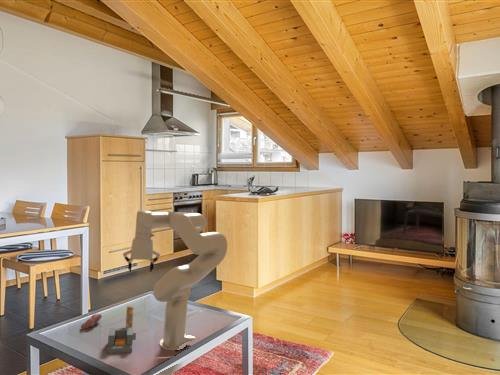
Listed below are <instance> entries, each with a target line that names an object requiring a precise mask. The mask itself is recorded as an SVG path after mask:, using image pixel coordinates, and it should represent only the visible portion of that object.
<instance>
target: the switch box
mask: <svg viewBox="0 0 500 375" xmlns="http://www.w3.org/2000/svg"><path fill="white" fill-rule="evenodd" d="M133 333H134V326H132V328H125V327H110V328H109V330H108V335H107V336H108V339H107V350H106V354H118V353H120V354H121V353H133V341H134V340H133ZM122 338H126V342H125V345H120V346H115V340H116V339H122Z"/></svg>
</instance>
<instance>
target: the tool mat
mask: <svg viewBox="0 0 500 375" xmlns="http://www.w3.org/2000/svg"><path fill="white" fill-rule="evenodd" d="M136 337H137V333H136V332H133V341H135V340H137V338H136Z"/></svg>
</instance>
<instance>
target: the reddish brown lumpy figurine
mask: <svg viewBox="0 0 500 375" xmlns="http://www.w3.org/2000/svg"><path fill="white" fill-rule="evenodd" d="M102 318H103V315H102V314H100V313H98V312H97V313H94V314H93V315H91V316H90V317H89V318H88V319H87V320H86V321H85V322H84V323H82V324H81V325H80V328H81V329H82V328H83V329H82V330H85V329H88V328H91V327H93V326H95V325H97V324H98V322H100V321H101V319H102Z"/></svg>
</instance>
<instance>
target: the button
mask: <svg viewBox="0 0 500 375" xmlns="http://www.w3.org/2000/svg"><path fill="white" fill-rule="evenodd" d="M125 342H126V338H122V339H116V340H115V345H114V346H120V345H126V344H125Z"/></svg>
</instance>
